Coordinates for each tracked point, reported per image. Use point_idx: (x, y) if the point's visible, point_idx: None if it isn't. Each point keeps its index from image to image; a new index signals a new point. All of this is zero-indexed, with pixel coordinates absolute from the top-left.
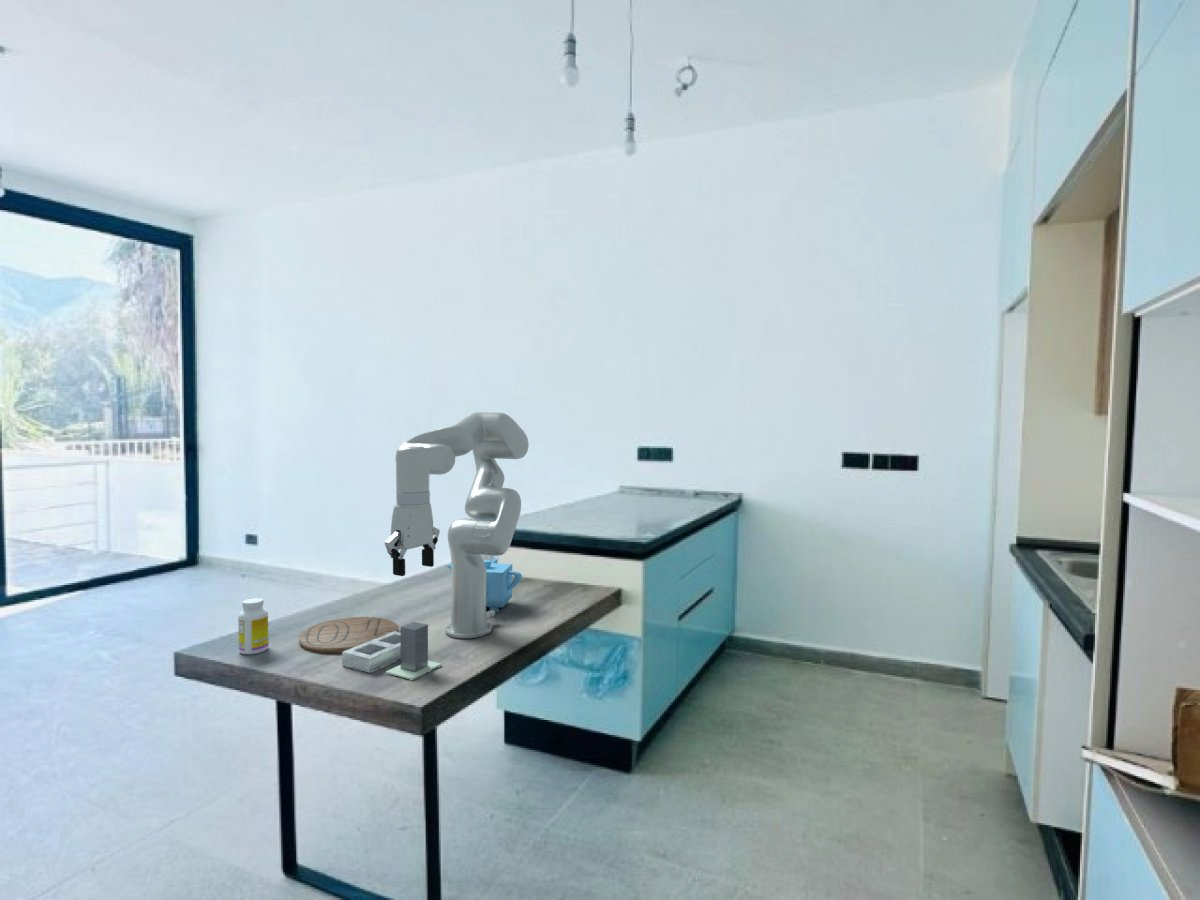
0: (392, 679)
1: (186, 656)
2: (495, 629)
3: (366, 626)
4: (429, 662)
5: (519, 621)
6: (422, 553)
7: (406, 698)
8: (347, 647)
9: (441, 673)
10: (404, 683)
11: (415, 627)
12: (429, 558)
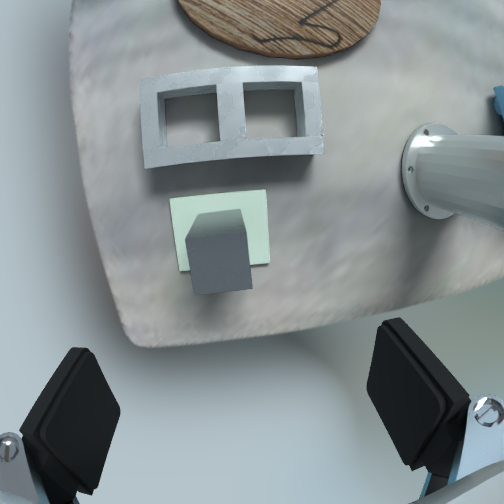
0: (162, 231)
1: None
2: None
3: None
4: (260, 237)
5: None
6: (424, 389)
7: (131, 313)
8: (208, 29)
9: None
10: (164, 265)
11: (210, 279)
12: (389, 416)
